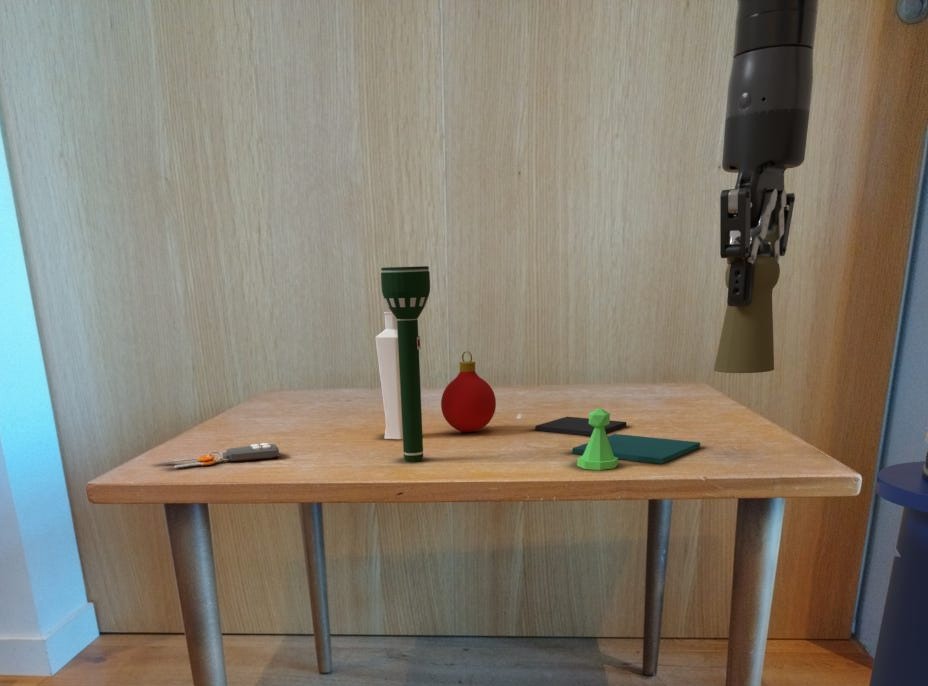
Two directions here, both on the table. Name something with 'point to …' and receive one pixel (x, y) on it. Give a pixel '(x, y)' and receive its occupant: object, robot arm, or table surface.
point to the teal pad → (645, 448)
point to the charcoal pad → (576, 426)
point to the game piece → (598, 444)
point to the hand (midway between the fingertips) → (749, 303)
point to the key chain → (235, 455)
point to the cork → (750, 325)
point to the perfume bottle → (390, 376)
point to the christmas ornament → (468, 400)
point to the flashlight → (408, 346)
